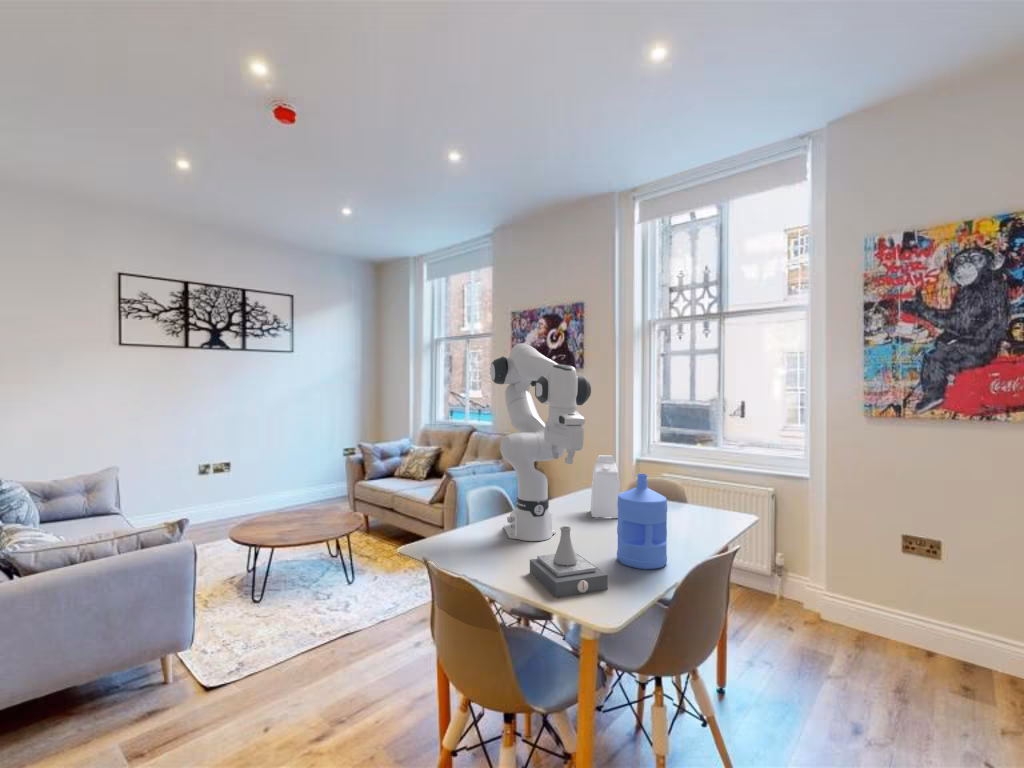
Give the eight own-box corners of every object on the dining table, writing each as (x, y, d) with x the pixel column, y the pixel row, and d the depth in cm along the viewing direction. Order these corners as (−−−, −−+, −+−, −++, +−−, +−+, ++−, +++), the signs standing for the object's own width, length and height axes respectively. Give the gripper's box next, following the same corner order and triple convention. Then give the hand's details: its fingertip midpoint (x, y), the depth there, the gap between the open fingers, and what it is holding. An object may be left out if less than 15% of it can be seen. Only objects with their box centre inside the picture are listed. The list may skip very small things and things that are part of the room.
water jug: (611, 553, 163) (611, 470, 164) (656, 552, 164) (657, 470, 165) (624, 570, 148) (625, 479, 148) (674, 570, 149) (675, 479, 149)
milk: (617, 511, 218) (617, 454, 218) (620, 518, 206) (621, 457, 206) (590, 510, 219) (590, 453, 219) (592, 517, 207) (592, 457, 207)
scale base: (529, 572, 146) (529, 559, 146) (576, 566, 151) (576, 553, 151) (556, 598, 128) (556, 583, 128) (608, 590, 134) (609, 575, 134)
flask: (575, 557, 145) (575, 524, 145) (579, 566, 137) (580, 531, 137) (551, 557, 144) (551, 524, 144) (554, 566, 137) (554, 531, 137)
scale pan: (537, 559, 145) (537, 556, 145) (572, 554, 150) (572, 551, 150) (557, 576, 132) (557, 573, 132) (595, 571, 136) (595, 567, 136)
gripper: (539, 414, 159) (539, 456, 159) (568, 419, 139) (567, 467, 140) (557, 413, 161) (556, 455, 161) (587, 419, 142) (586, 466, 142)
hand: (561, 461), depth 150 cm, fingers open, 8 cm apart
